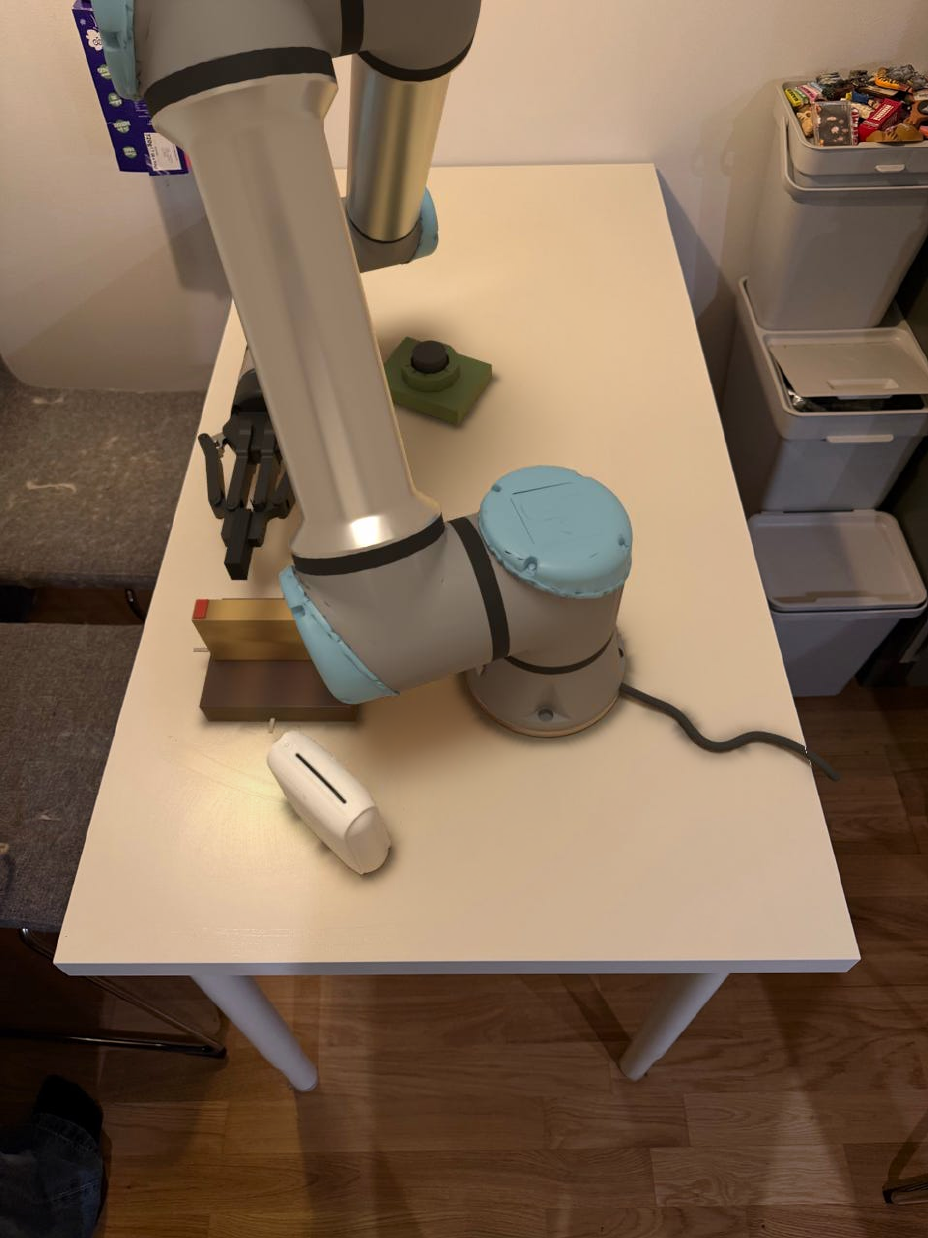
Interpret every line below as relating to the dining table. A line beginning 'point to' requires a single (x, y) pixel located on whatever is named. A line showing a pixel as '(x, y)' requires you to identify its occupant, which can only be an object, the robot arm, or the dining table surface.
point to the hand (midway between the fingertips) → (235, 571)
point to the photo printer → (330, 801)
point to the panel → (269, 691)
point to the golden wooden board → (249, 629)
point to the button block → (436, 383)
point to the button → (429, 357)
